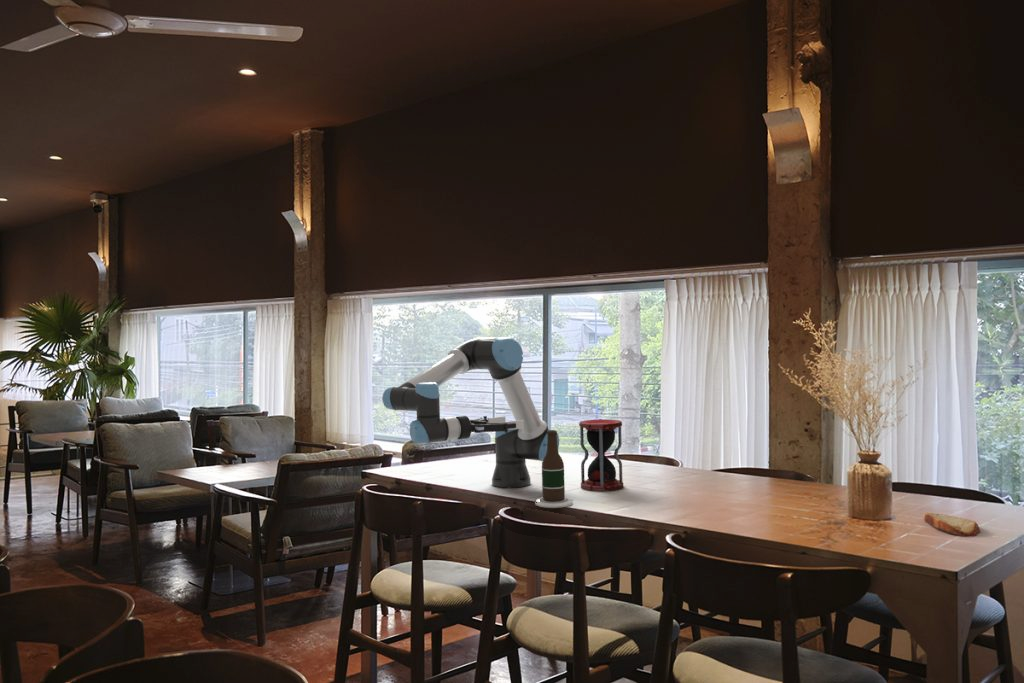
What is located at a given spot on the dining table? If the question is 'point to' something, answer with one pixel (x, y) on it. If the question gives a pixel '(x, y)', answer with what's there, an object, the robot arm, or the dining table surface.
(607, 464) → the hourglass
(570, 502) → the plate
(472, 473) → the dining table surface
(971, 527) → the bread slice
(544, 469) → the beer bottle
